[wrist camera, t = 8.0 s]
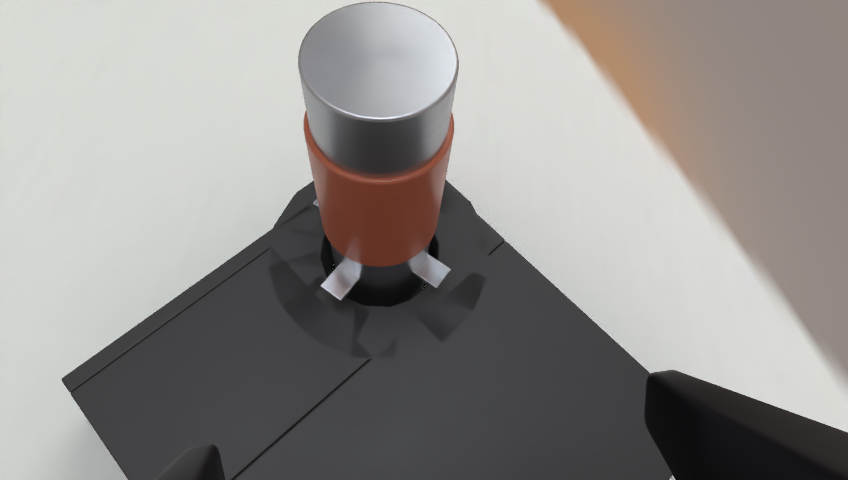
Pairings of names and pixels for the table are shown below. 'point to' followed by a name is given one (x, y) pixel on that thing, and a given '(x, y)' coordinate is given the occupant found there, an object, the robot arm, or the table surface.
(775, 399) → the table surface
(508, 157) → the table surface
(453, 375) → the grinder base
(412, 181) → the silver-capped orange cylinder
